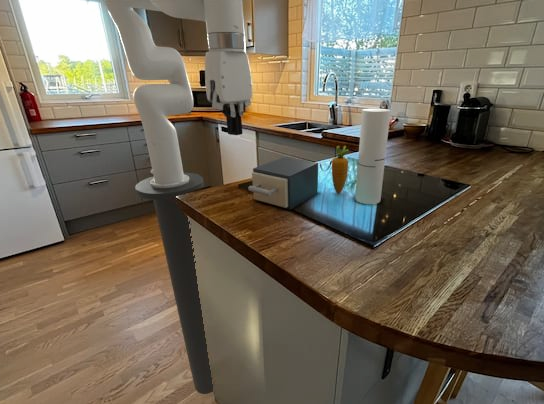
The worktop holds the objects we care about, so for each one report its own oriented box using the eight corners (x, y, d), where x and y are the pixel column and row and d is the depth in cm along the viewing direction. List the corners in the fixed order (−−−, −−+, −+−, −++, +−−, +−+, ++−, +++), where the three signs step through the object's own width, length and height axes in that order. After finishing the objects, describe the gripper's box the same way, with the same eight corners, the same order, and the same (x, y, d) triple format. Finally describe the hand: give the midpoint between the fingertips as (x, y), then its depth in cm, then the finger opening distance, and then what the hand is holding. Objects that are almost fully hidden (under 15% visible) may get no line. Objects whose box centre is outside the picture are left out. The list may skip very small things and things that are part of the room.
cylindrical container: (385, 202, 84) (396, 110, 74) (361, 205, 82) (370, 112, 72) (373, 193, 90) (381, 108, 80) (351, 196, 89) (357, 109, 79)
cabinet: (290, 210, 80) (289, 176, 76) (255, 200, 87) (252, 168, 83) (317, 193, 91) (318, 162, 87) (284, 185, 98) (283, 157, 94)
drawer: (276, 213, 76) (274, 185, 73) (243, 203, 82) (241, 177, 79) (312, 192, 89) (312, 167, 86) (281, 185, 95) (281, 161, 92)
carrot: (342, 190, 93) (344, 142, 87) (349, 196, 89) (352, 146, 83) (327, 192, 92) (329, 144, 86) (334, 198, 87) (336, 147, 81)
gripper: (239, 48, 69) (245, 128, 76) (185, 43, 58) (198, 138, 65) (264, 46, 65) (268, 130, 72) (211, 41, 54) (222, 142, 61)
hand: (235, 134), depth 69 cm, fingers closed
